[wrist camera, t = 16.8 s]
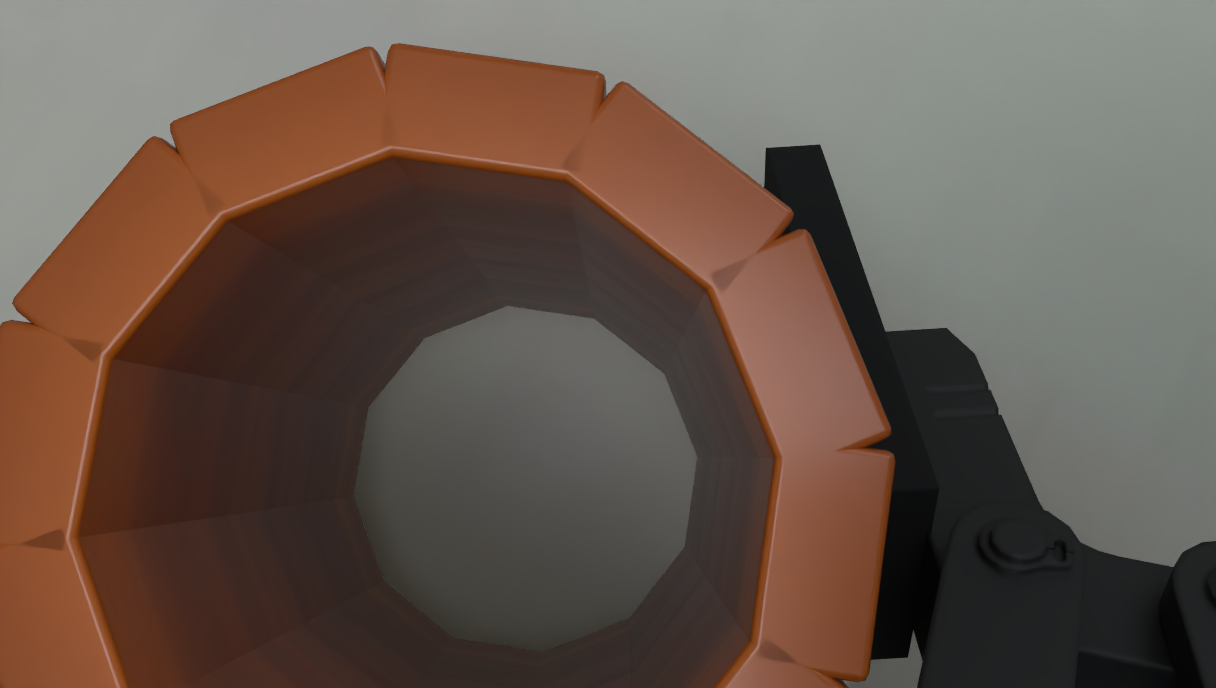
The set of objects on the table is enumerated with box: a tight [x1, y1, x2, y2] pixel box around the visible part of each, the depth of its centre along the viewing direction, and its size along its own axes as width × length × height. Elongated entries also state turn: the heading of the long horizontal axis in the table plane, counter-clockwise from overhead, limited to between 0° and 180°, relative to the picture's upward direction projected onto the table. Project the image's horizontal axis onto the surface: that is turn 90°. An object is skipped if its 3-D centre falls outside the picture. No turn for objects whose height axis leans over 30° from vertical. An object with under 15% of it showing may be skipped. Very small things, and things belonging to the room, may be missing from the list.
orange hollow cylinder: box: [0, 43, 896, 688], centre depth 15 cm, size 8×8×10 cm
